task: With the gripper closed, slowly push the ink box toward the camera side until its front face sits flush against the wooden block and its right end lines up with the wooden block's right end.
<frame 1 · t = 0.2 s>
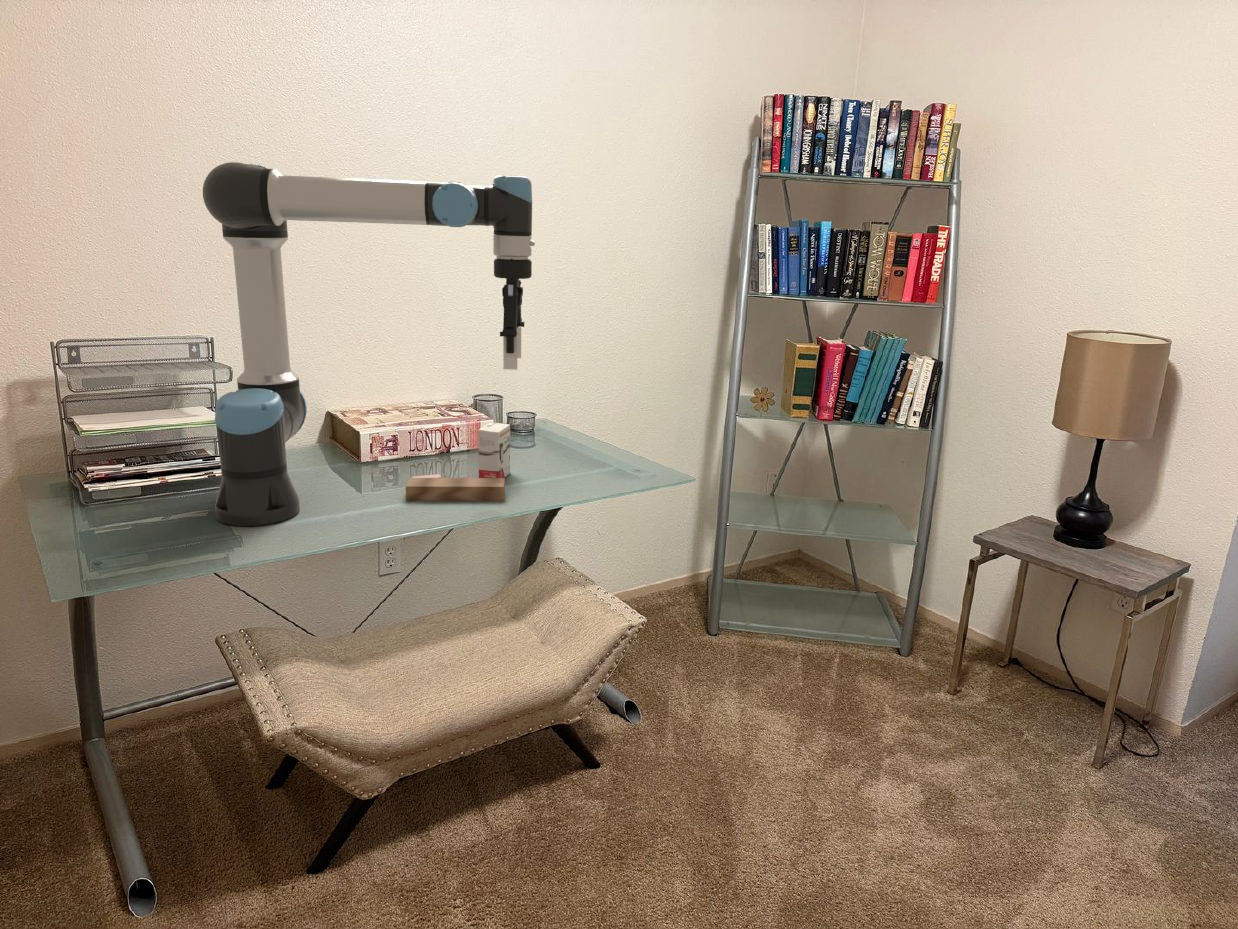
hand: (512, 363, 178), 28 cm above the table, fingers open, 13 cm apart
wooden block: (456, 495, 182), on the table
eraser: (426, 485, 189), on the table
ink box: (494, 478, 196), on the table
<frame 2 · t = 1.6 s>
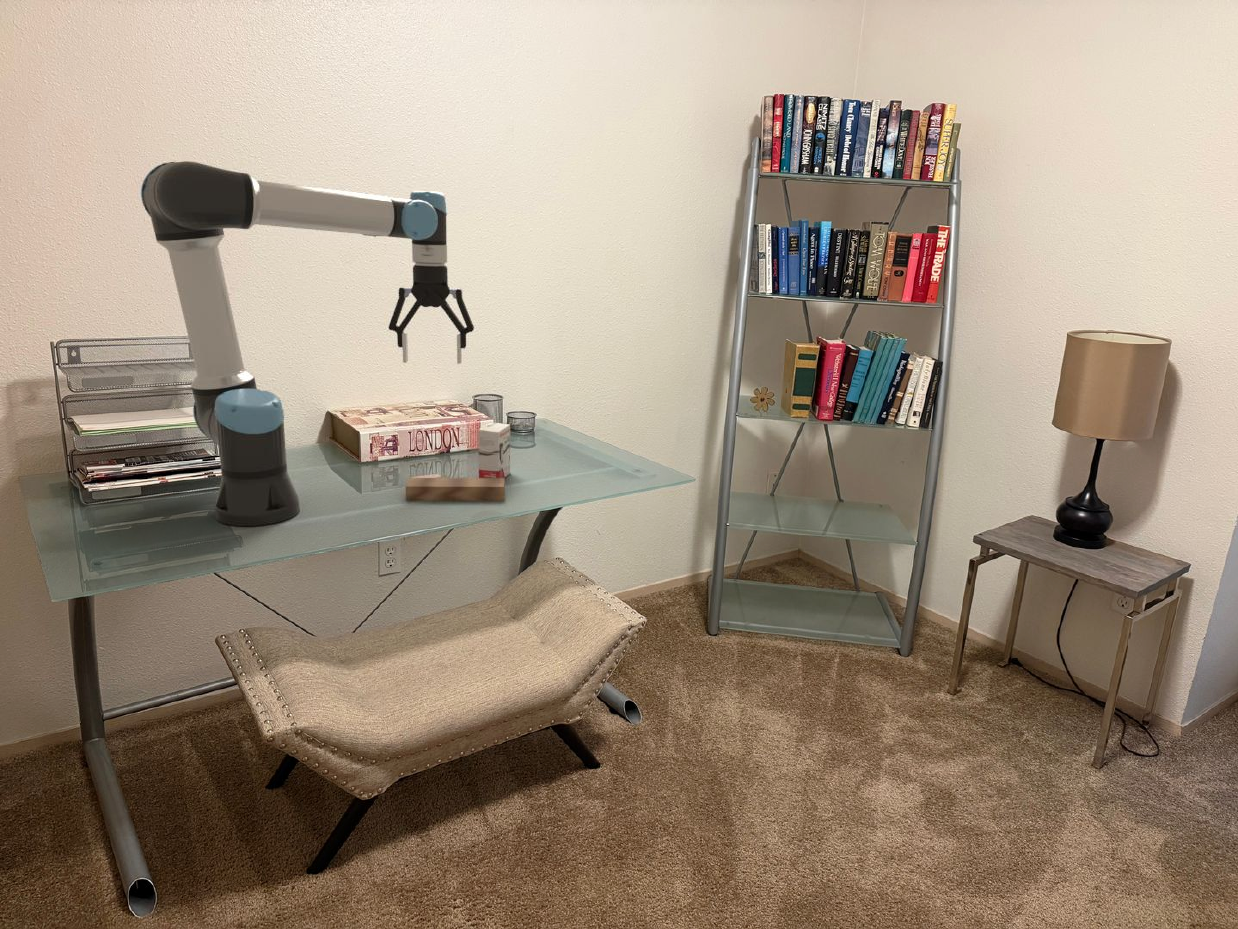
hand: (432, 362, 197), 24 cm above the table, fingers open, 11 cm apart
nothing on the table moved.
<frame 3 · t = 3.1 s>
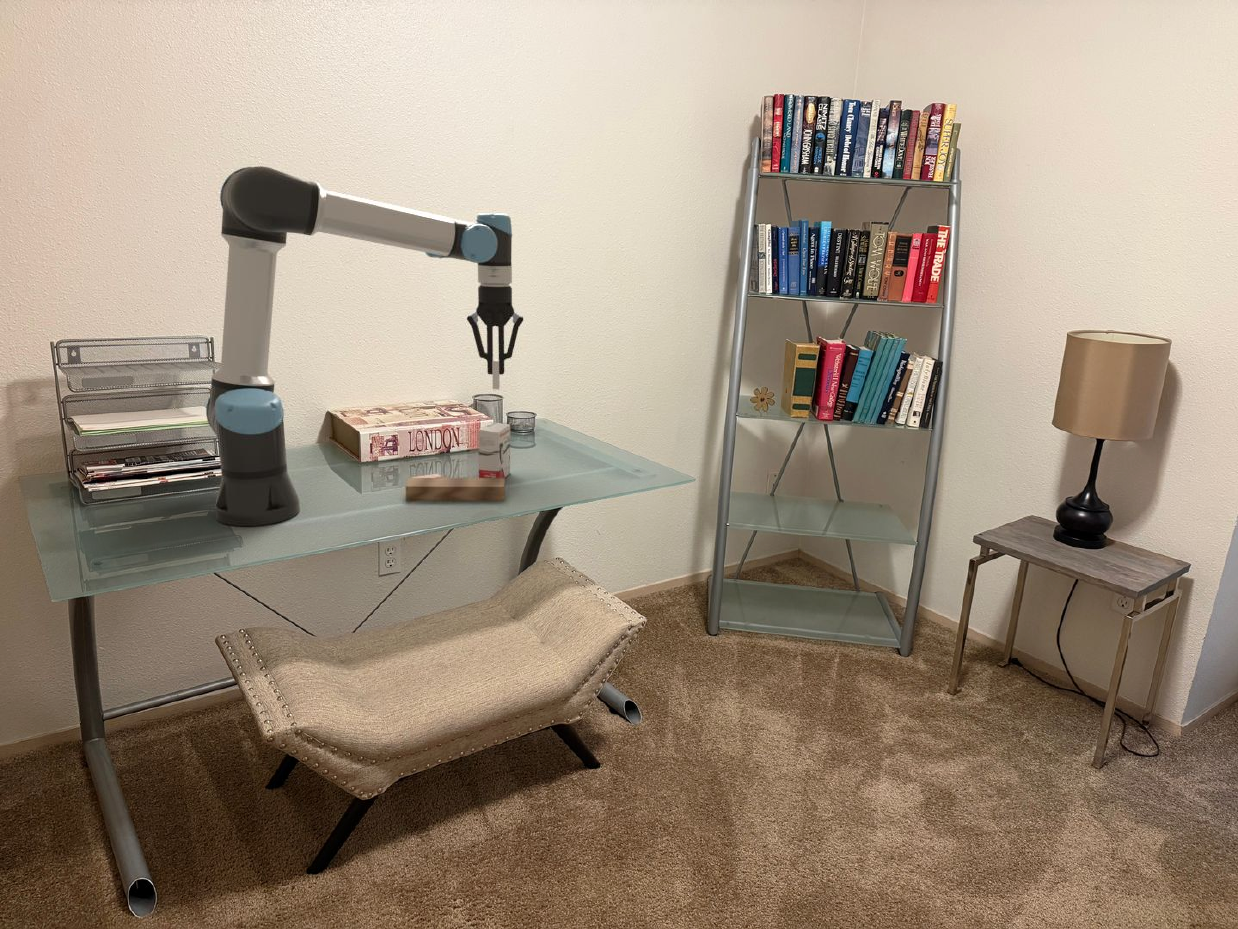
hand: (496, 388, 201), 18 cm above the table, fingers closed
nothing on the table moved.
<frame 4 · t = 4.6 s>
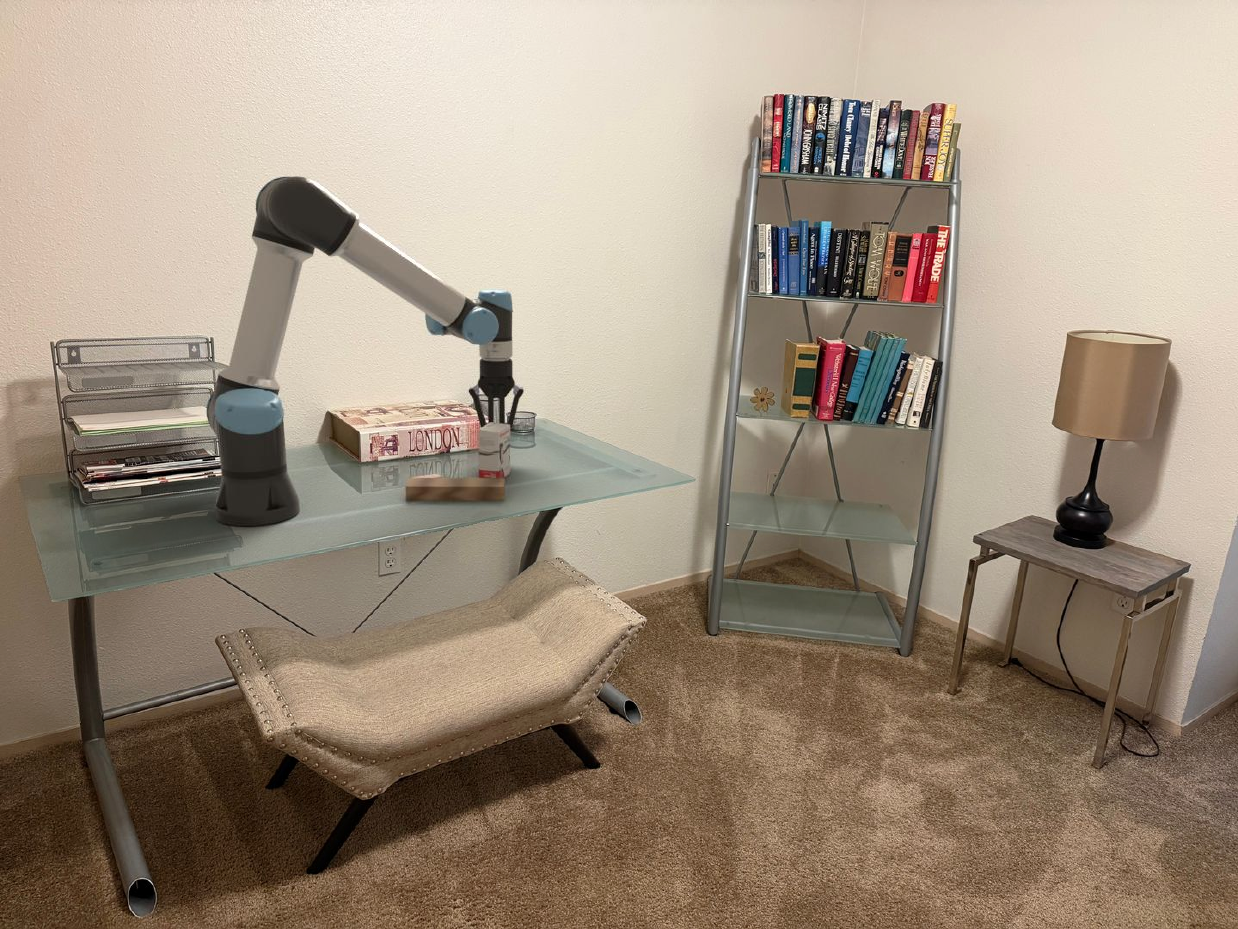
hand: (497, 456, 205), 2 cm above the table, fingers closed
nothing on the table moved.
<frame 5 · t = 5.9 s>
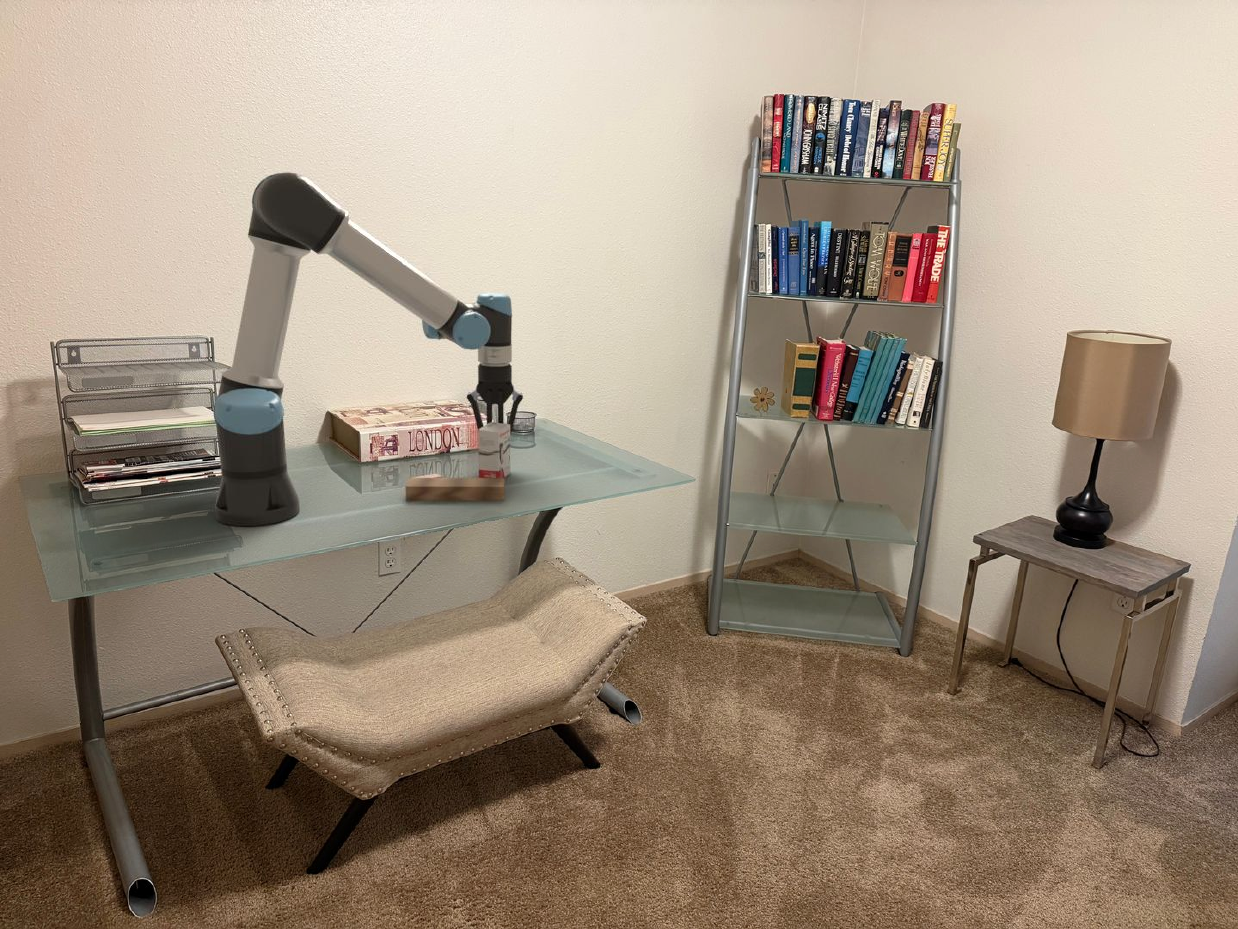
hand: (495, 463, 201), 1 cm above the table, fingers closed
ink box: (494, 477, 196), on the table, touching gripper
everything else where it was.
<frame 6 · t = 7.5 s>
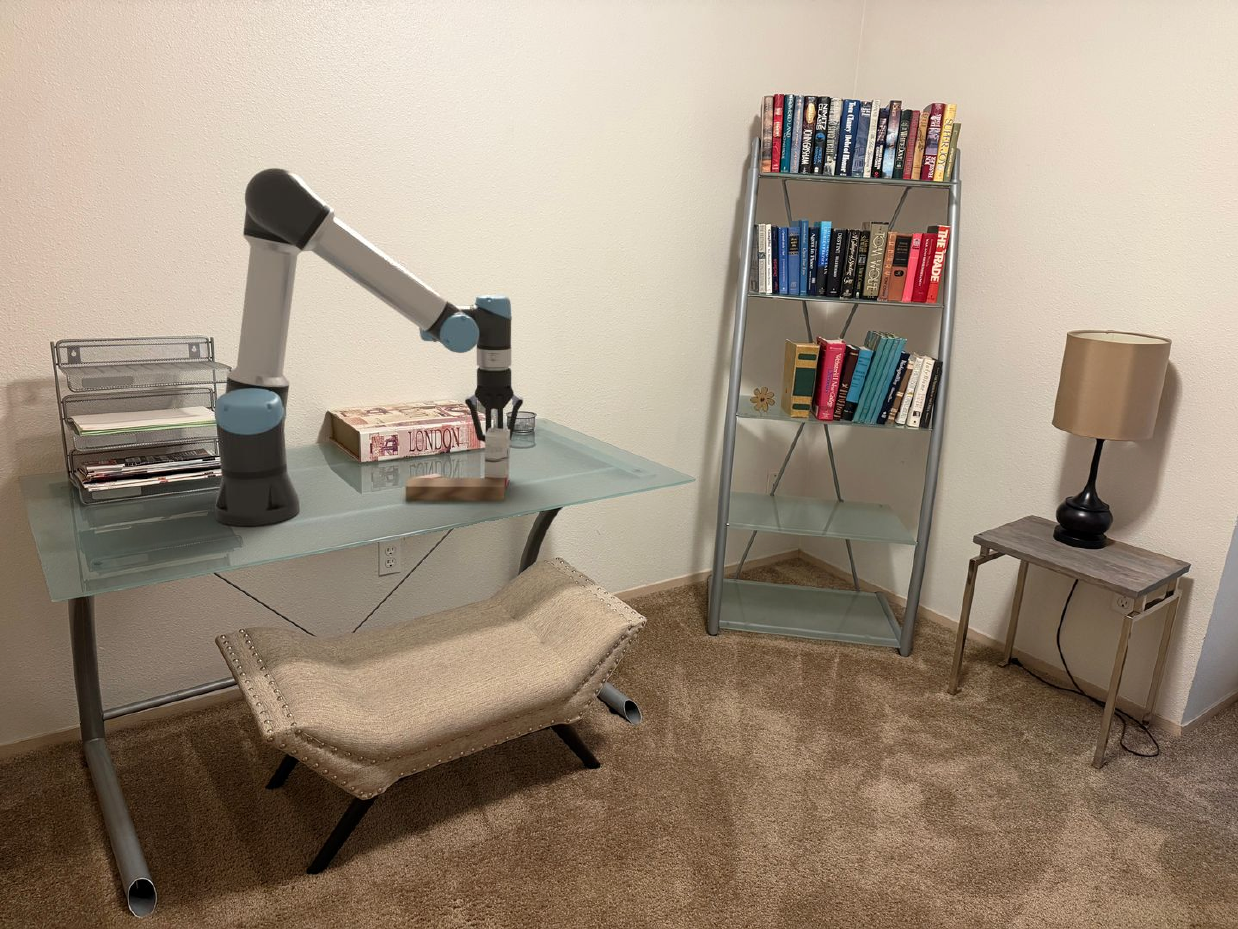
hand: (494, 470, 196), 1 cm above the table, fingers closed
ink box: (496, 484, 191), on the table, touching gripper
everything else where it was.
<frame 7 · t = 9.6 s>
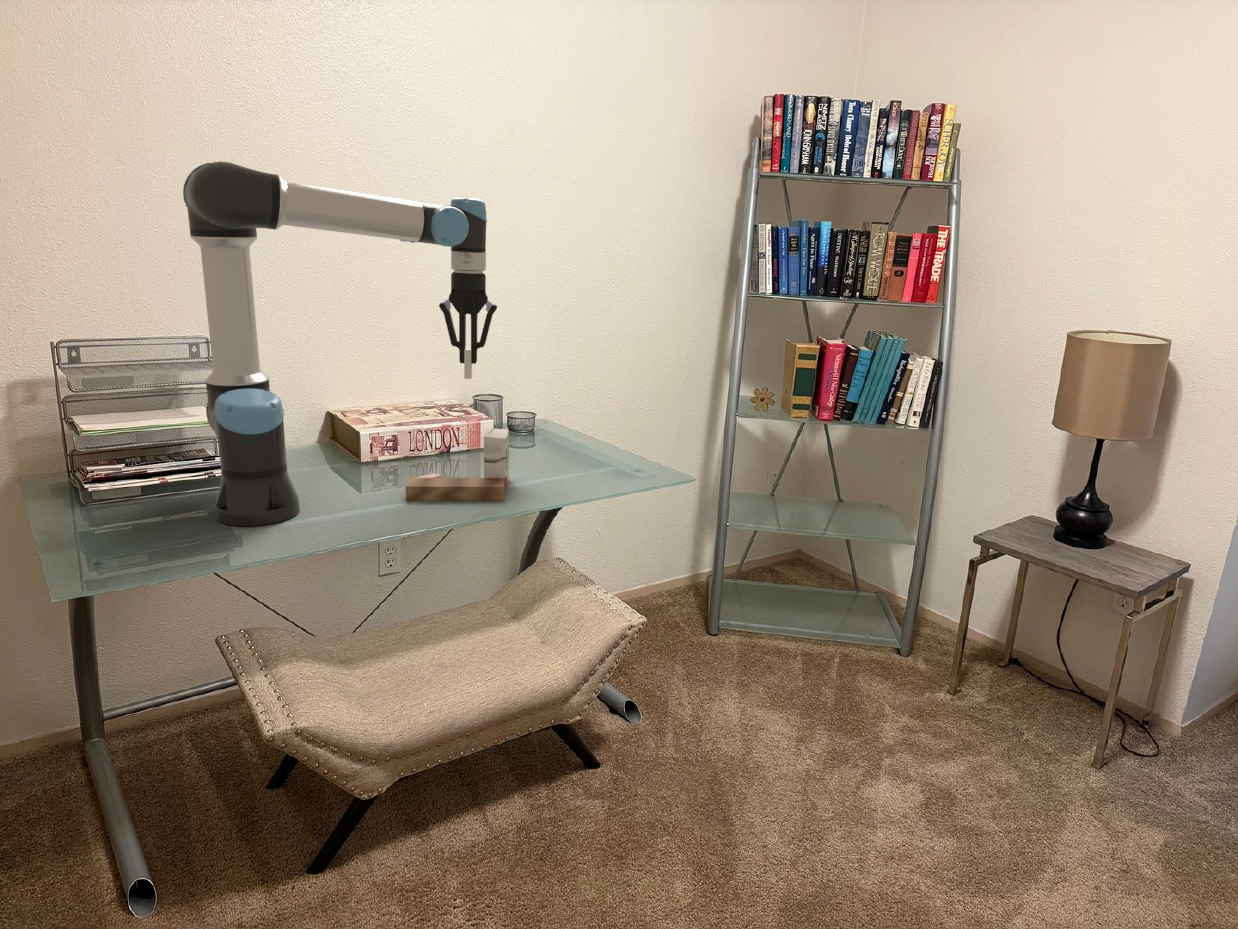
hand: (468, 377, 196), 21 cm above the table, fingers closed
ink box: (496, 485, 191), on the table
everything else where it was.
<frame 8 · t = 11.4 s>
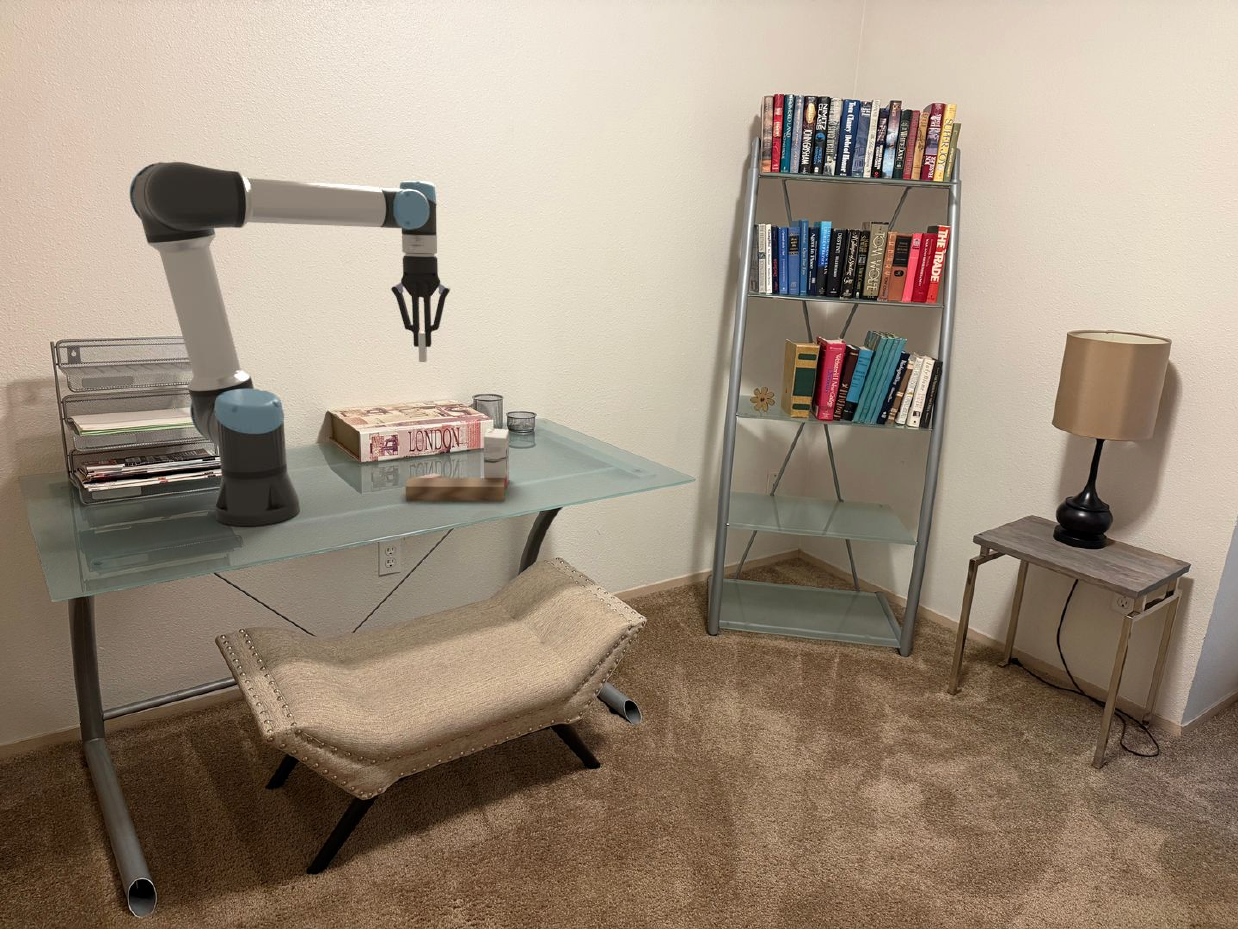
hand: (423, 360, 197), 24 cm above the table, fingers closed
nothing on the table moved.
at the end: ink box 0.7 cm from the target spot on the table beside the wooden block, on the table; ink box tilted 0° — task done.
